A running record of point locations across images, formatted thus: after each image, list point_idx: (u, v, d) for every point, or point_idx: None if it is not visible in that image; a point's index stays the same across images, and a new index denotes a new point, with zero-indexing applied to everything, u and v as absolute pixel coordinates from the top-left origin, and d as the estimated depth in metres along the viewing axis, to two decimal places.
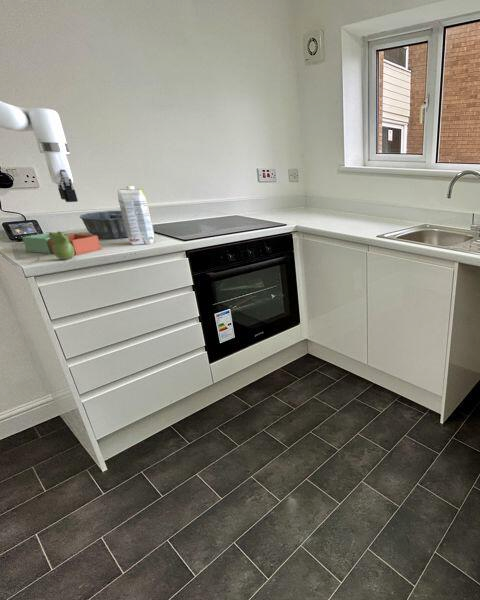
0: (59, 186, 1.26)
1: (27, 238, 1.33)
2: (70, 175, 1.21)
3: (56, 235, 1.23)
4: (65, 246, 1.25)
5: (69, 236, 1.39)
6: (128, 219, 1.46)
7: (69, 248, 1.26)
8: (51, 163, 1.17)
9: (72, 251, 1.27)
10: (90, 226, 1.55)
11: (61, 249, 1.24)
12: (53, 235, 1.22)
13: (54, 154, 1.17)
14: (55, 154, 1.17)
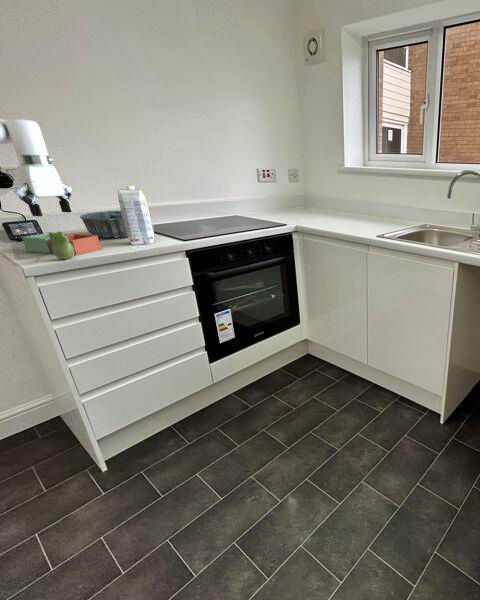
0: None
1: (27, 238, 1.33)
2: (32, 189, 1.14)
3: (56, 235, 1.23)
4: (65, 246, 1.25)
5: (69, 236, 1.39)
6: (128, 219, 1.46)
7: (69, 248, 1.26)
8: None
9: (72, 251, 1.27)
10: (90, 226, 1.55)
11: (61, 249, 1.24)
12: (53, 235, 1.22)
13: (19, 167, 1.12)
14: (20, 167, 1.12)
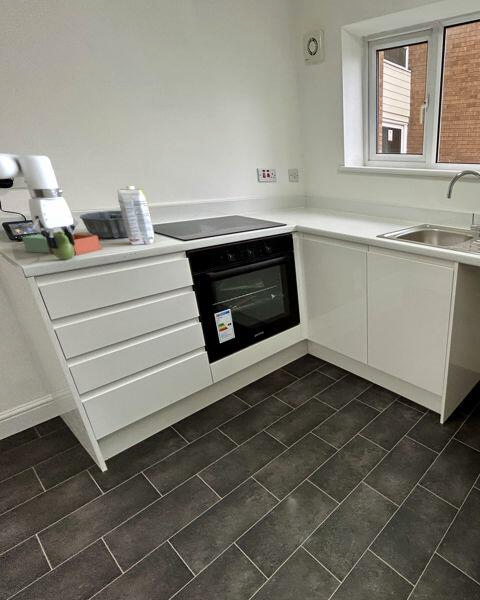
0: (63, 231, 1.27)
1: (27, 238, 1.33)
2: (43, 221, 1.17)
3: (56, 235, 1.23)
4: (65, 247, 1.25)
5: None
6: (128, 219, 1.46)
7: (69, 248, 1.26)
8: None
9: (72, 251, 1.27)
10: (90, 226, 1.55)
11: (61, 249, 1.24)
12: None
13: (31, 200, 1.16)
14: (31, 200, 1.16)
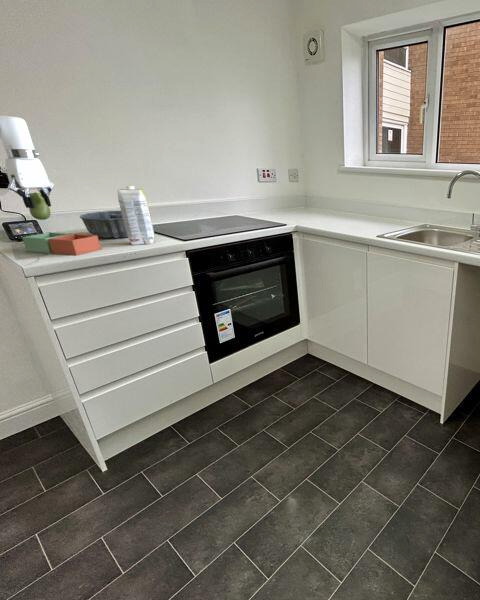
0: (40, 192, 1.33)
1: (27, 238, 1.33)
2: (18, 180, 1.23)
3: (32, 195, 1.29)
4: (41, 207, 1.31)
5: (69, 236, 1.39)
6: (128, 219, 1.46)
7: (45, 209, 1.32)
8: (6, 168, 1.23)
9: (48, 212, 1.33)
10: (90, 226, 1.55)
11: (37, 209, 1.30)
12: (29, 195, 1.28)
13: (7, 159, 1.22)
14: (7, 159, 1.22)
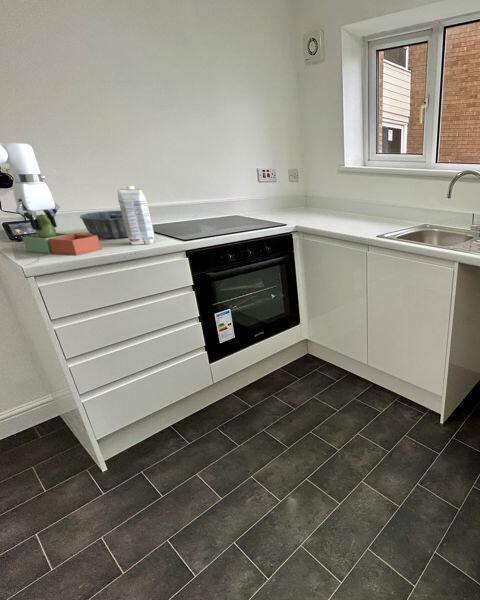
0: None
1: (27, 238, 1.33)
2: (25, 203, 1.28)
3: (39, 217, 1.33)
4: (47, 228, 1.36)
5: (69, 236, 1.39)
6: (128, 219, 1.46)
7: (51, 230, 1.36)
8: None
9: (54, 233, 1.37)
10: (90, 226, 1.55)
11: (43, 231, 1.35)
12: (36, 217, 1.33)
13: (14, 184, 1.26)
14: (15, 184, 1.26)
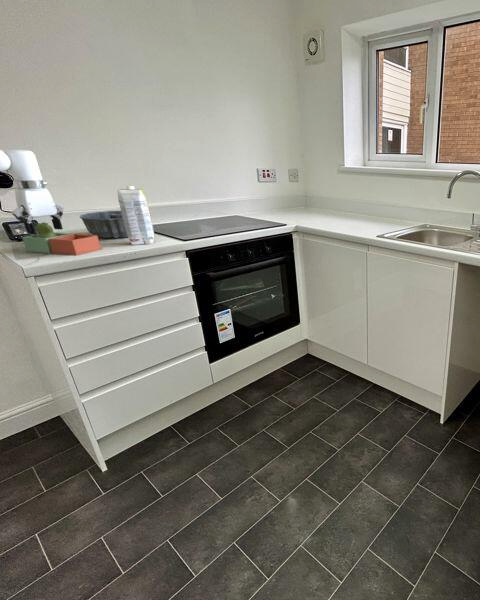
0: (52, 217, 1.40)
1: (27, 238, 1.33)
2: (27, 210, 1.29)
3: (41, 225, 1.35)
4: (49, 236, 1.37)
5: (69, 236, 1.39)
6: (128, 219, 1.46)
7: None
8: (16, 199, 1.28)
9: None
10: (90, 226, 1.55)
11: None
12: (38, 225, 1.34)
13: (17, 191, 1.27)
14: (17, 191, 1.27)
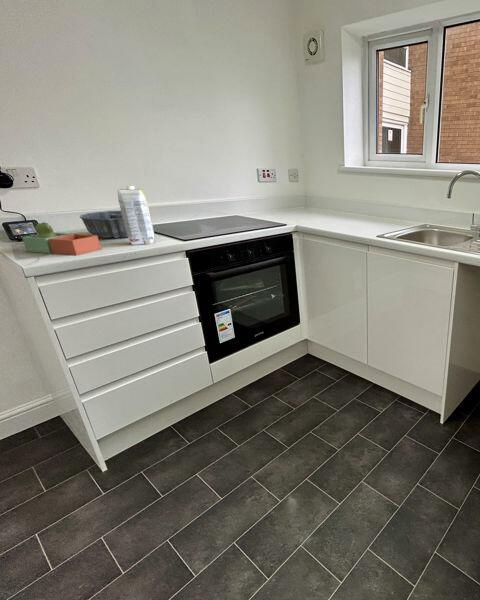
0: None
1: (27, 238, 1.33)
2: None
3: (41, 225, 1.35)
4: (49, 236, 1.37)
5: (69, 236, 1.39)
6: (128, 219, 1.46)
7: None
8: None
9: None
10: (90, 226, 1.55)
11: None
12: (38, 225, 1.34)
13: None
14: None
